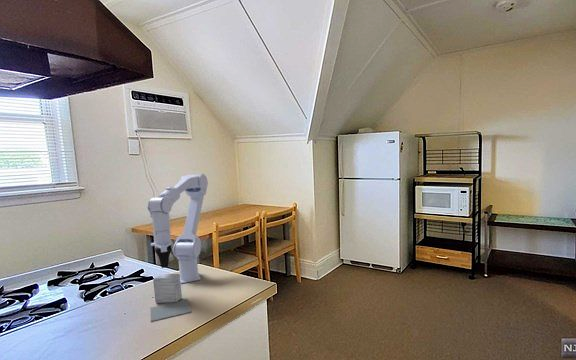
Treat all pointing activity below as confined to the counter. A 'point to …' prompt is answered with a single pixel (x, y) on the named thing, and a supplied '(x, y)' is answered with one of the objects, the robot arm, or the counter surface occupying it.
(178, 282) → the medicine box
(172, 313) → the slate mat
